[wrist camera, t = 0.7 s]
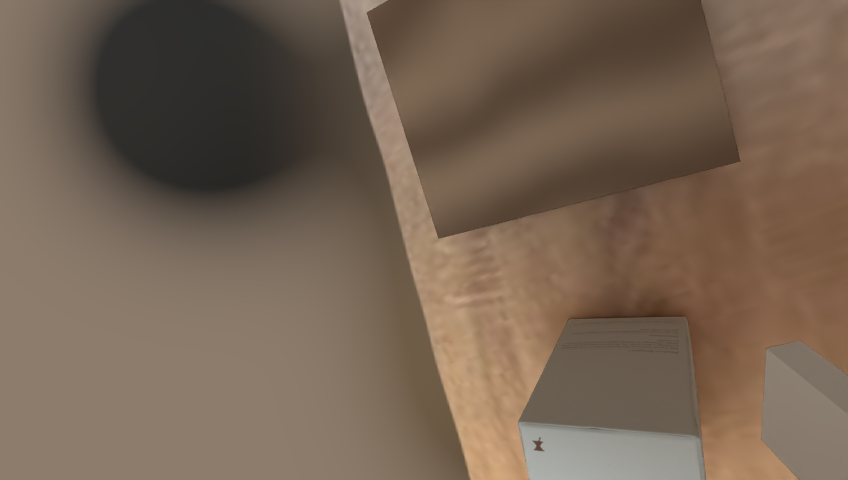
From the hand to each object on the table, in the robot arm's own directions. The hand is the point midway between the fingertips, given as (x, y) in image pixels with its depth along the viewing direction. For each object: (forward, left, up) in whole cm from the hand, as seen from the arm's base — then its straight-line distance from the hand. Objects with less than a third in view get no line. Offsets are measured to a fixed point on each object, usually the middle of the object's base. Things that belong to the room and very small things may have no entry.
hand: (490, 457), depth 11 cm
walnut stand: (-10, -1, -22) cm, 24 cm away
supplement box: (+9, -1, -22) cm, 24 cm away
